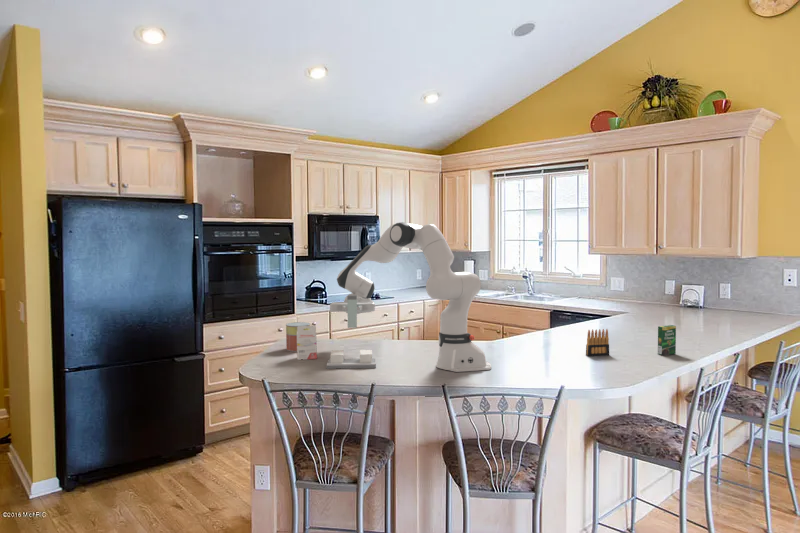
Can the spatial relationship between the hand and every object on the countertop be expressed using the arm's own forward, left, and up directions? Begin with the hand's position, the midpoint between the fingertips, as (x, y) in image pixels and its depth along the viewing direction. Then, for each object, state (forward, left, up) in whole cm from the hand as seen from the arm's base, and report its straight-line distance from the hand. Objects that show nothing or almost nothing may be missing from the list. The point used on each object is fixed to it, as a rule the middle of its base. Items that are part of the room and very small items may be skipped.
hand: (352, 309), depth 252 cm
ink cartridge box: (+20, 0, -22) cm, 30 cm away
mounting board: (0, +14, -21) cm, 26 cm away
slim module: (0, -1, -8) cm, 8 cm away
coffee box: (-142, +3, -22) cm, 144 cm away
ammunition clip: (-110, +3, -22) cm, 112 cm away
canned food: (+26, -20, -22) cm, 39 cm away
